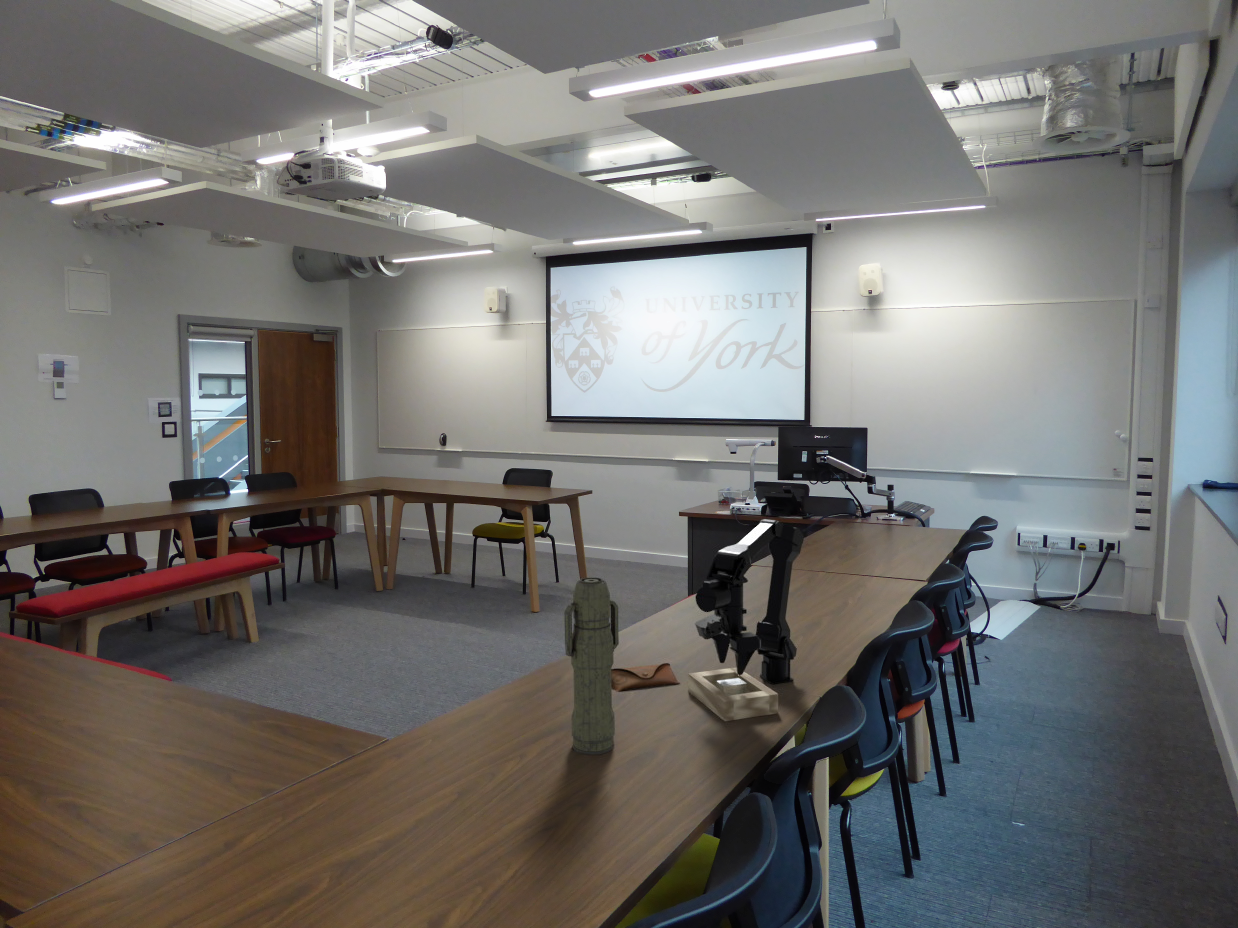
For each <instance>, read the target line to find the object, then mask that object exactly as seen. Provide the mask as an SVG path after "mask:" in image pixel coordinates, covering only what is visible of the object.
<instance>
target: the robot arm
mask: <svg viewBox="0 0 1238 928" xmlns="http://www.w3.org/2000/svg"><path fill="white" fill-rule="evenodd" d="M804 540H805V537H804V533H802V531H801V529H800V528H798V527H793V526H790V525H787V524H785V523H783V522H781V521H779V520H777V519H765V518H763V519H761V520H760V521H759V522H758V525H757V526H756V527H754V528H753V529H752V530H751V531H750V532H749V533H748V534H746V535H745V536H744V537H743V538H742V539H741V540H740V541H739V542H737V543H736V544H732V545H727V546H725V547H723V548H721V549H720V550H718V551H717V553H716V554H715V556H714V558H713V560H712V563H711V565H710V568H709V571H708V573H707V576H706V577H705V578H706V580H704V581H702V587H700V588H699V589H698V590H697V591H696V594H695V602H696V606H697V607H698V609H699V610H701V611H702V612H704V613H711V612H713V613H714V614H711V615H708V616H706V617H703V618H702V619H699V620H698V621H696V622H695V623H694V625H695V628H696V630H697V632H698V633H697V634H698V636H699V637H701V638H703V639H704V640H710V639H711V640H712V641H713V643H714V647H715V650H716V653H717V657H718V660H719V663H721V664H724V663H725V662H726V659H727V656H728V653H729V652H728V651H729V649H730V650H731V651H732V652H733V653H734V656H735V657H734V658H735V667H736V668H737V674H738V675H742V674H743V672H745V670H746V668H747V666H748V665H749V662H750V660H751V659H752V657H753V655H754V654H755V652H756V651H757V654H758V655H761V656H762V660H761V673H760V674H759V677H760V678H761V679H763V680H764V681H766V682H768V683H770V684H771V685H776V684H783V683H790V682H794V680H795V679H794V678H793V677H791V661H793V660H795V658H796V655H797V649H798V648H797V647H796V645H795V644H794V642H793V641H792V639H791V628H790V626H789V623H788V622H787V619H786V617H787V611H788V602H789V594H790V587H791V577H792V570H793V563H794V562H795V560H796V559H797V558H798V556H799V555H800V554H801V552H802V546H803V544H804ZM767 545H768V551H769V553H770V555H771V557H772V566H771V575H770V583H769V590H768V598H767V606H766V612H765V616H764V617H763V619H762V620H761V621H760V620H759V621H758V622H757V623H756V632H755V633H753V632H751V631H749V632H748V631H747V629H748V627H747V626H746V625H744V615H746V614H748V613H747V612H748V611H747V608H745V607H744V584H747V583H748V582H749V580H748V579H747V577H745V575H746V573H747V572H748V571H749V569H751V567H752V559H753V558H754V557H755V556H757V555H758V554H759V552H761V551H762V549H764V548H765V547H767Z"/></svg>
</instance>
